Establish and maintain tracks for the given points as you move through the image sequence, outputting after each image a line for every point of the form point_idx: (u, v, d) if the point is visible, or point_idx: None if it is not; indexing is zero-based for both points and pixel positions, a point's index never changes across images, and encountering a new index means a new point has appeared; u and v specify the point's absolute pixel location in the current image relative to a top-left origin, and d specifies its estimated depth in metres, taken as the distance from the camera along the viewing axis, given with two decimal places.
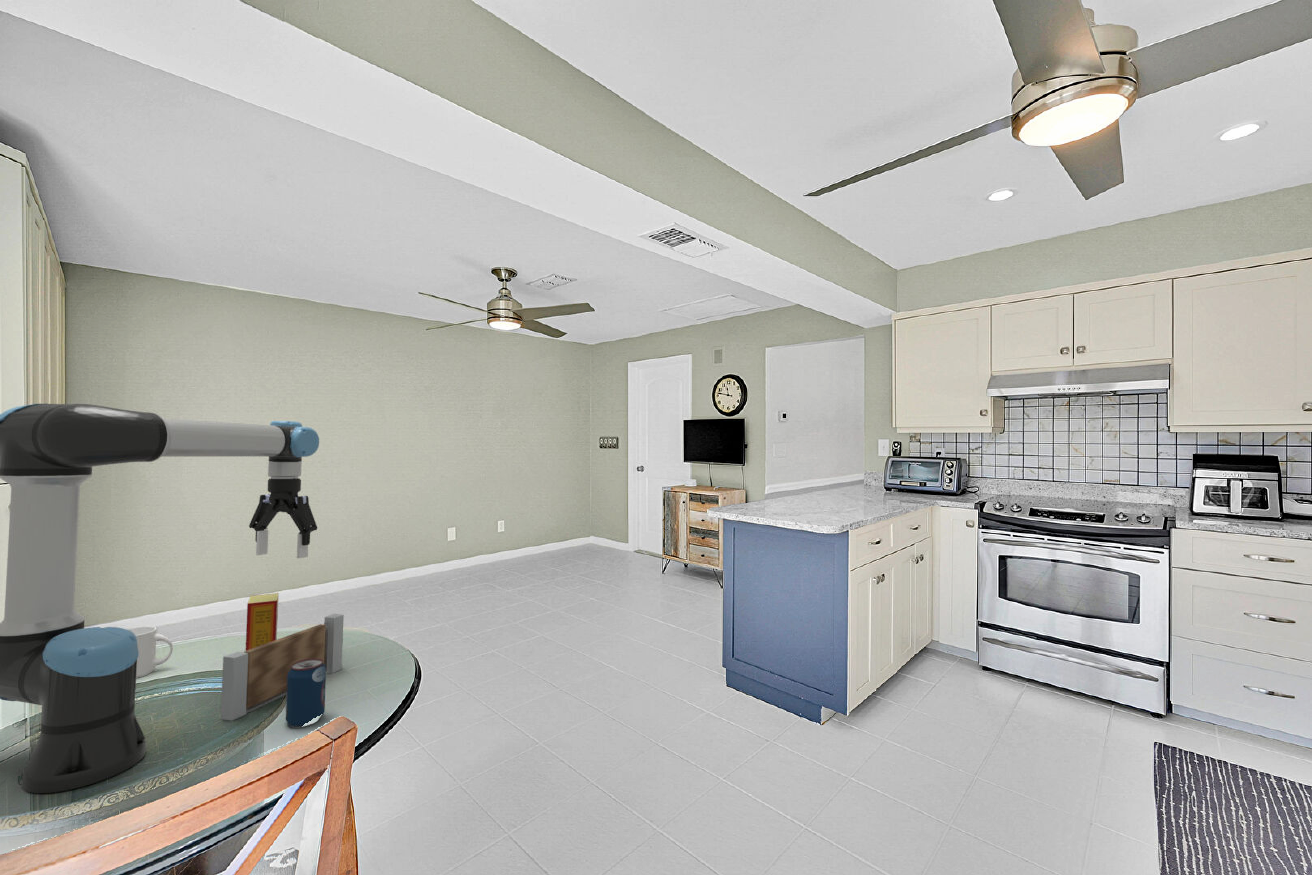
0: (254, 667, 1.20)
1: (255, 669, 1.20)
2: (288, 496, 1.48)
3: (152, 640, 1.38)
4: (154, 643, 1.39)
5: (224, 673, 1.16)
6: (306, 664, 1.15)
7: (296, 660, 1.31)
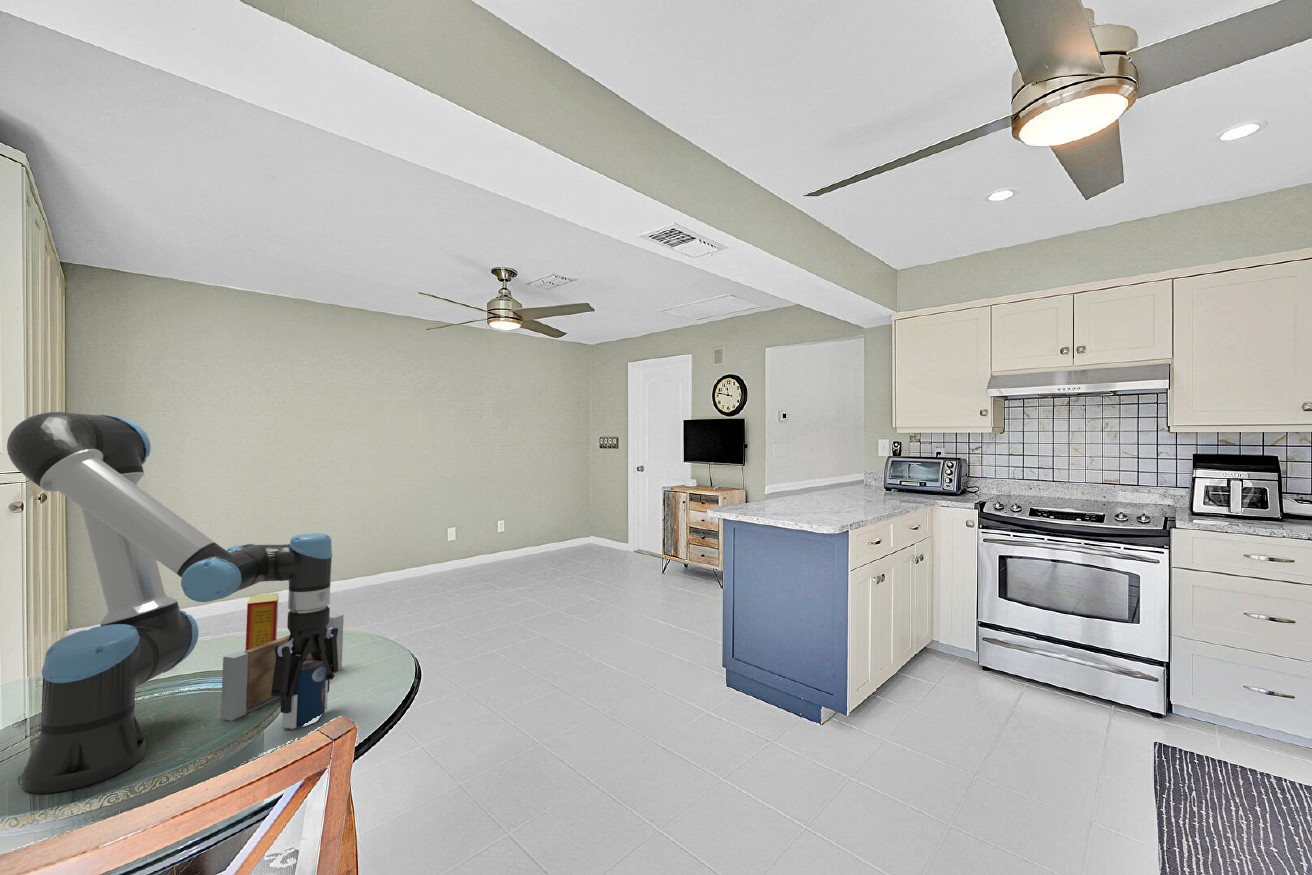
0: (254, 667, 1.20)
1: (255, 669, 1.20)
2: None
3: None
4: None
5: (224, 673, 1.16)
6: (306, 664, 1.15)
7: None
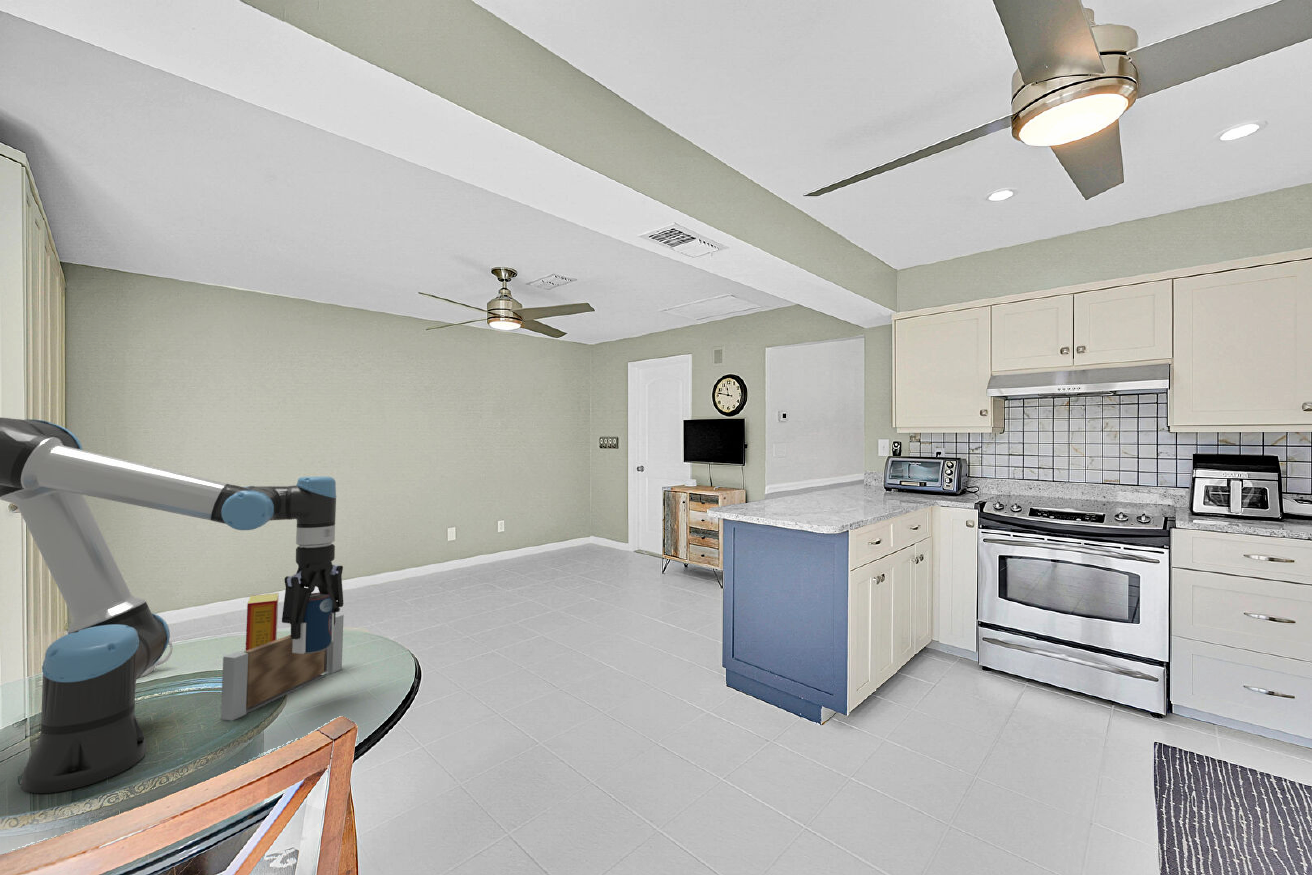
0: (254, 667, 1.20)
1: (255, 669, 1.20)
2: None
3: None
4: None
5: (224, 673, 1.16)
6: (314, 596, 1.24)
7: (296, 660, 1.31)
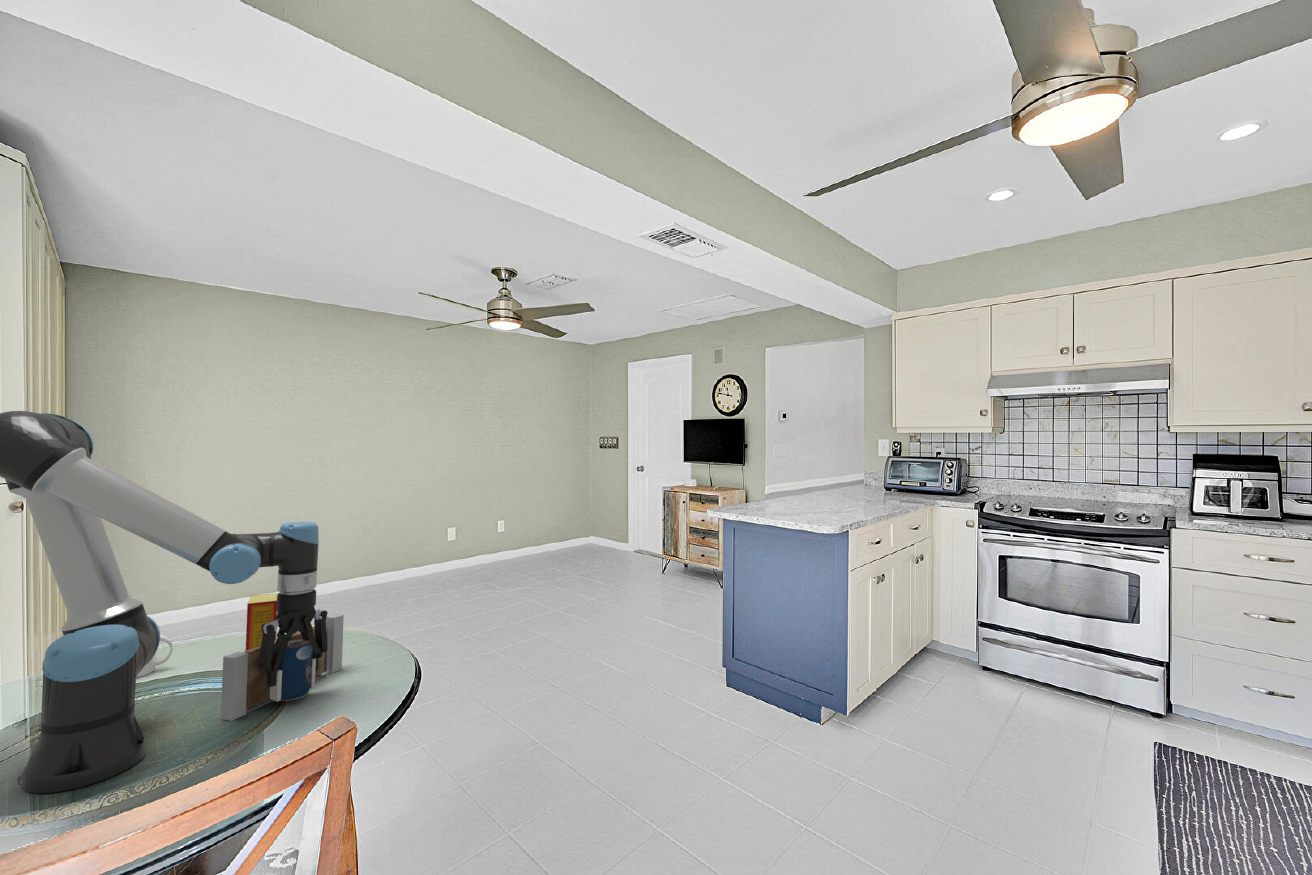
0: (254, 667, 1.20)
1: (255, 669, 1.20)
2: None
3: None
4: None
5: (224, 673, 1.16)
6: (294, 642, 1.24)
7: None
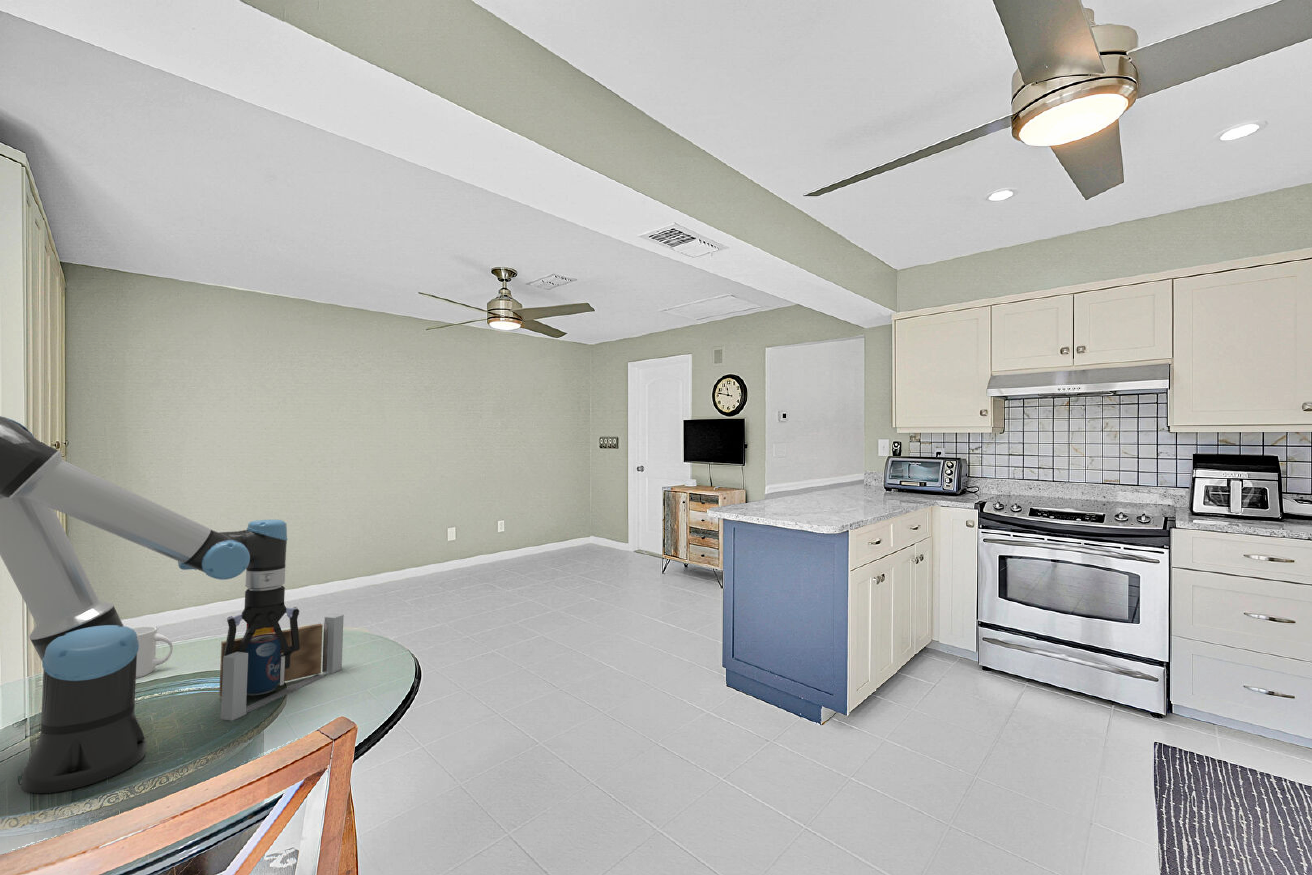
0: None
1: None
2: None
3: (152, 640, 1.38)
4: (154, 643, 1.39)
5: (224, 673, 1.16)
6: (262, 638, 1.27)
7: None
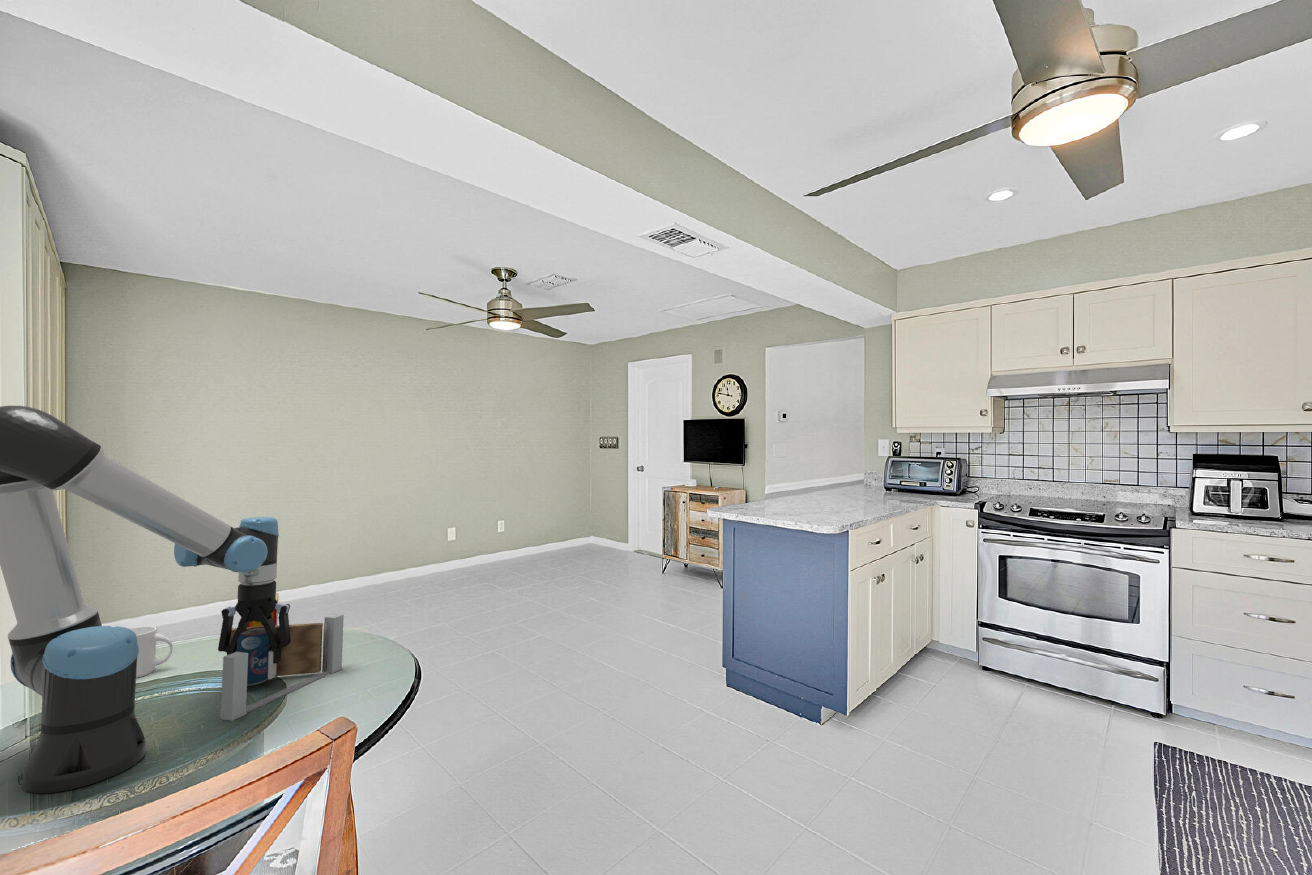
0: None
1: None
2: None
3: (152, 640, 1.38)
4: (154, 643, 1.39)
5: (224, 673, 1.16)
6: (254, 631, 1.32)
7: (282, 651, 1.36)
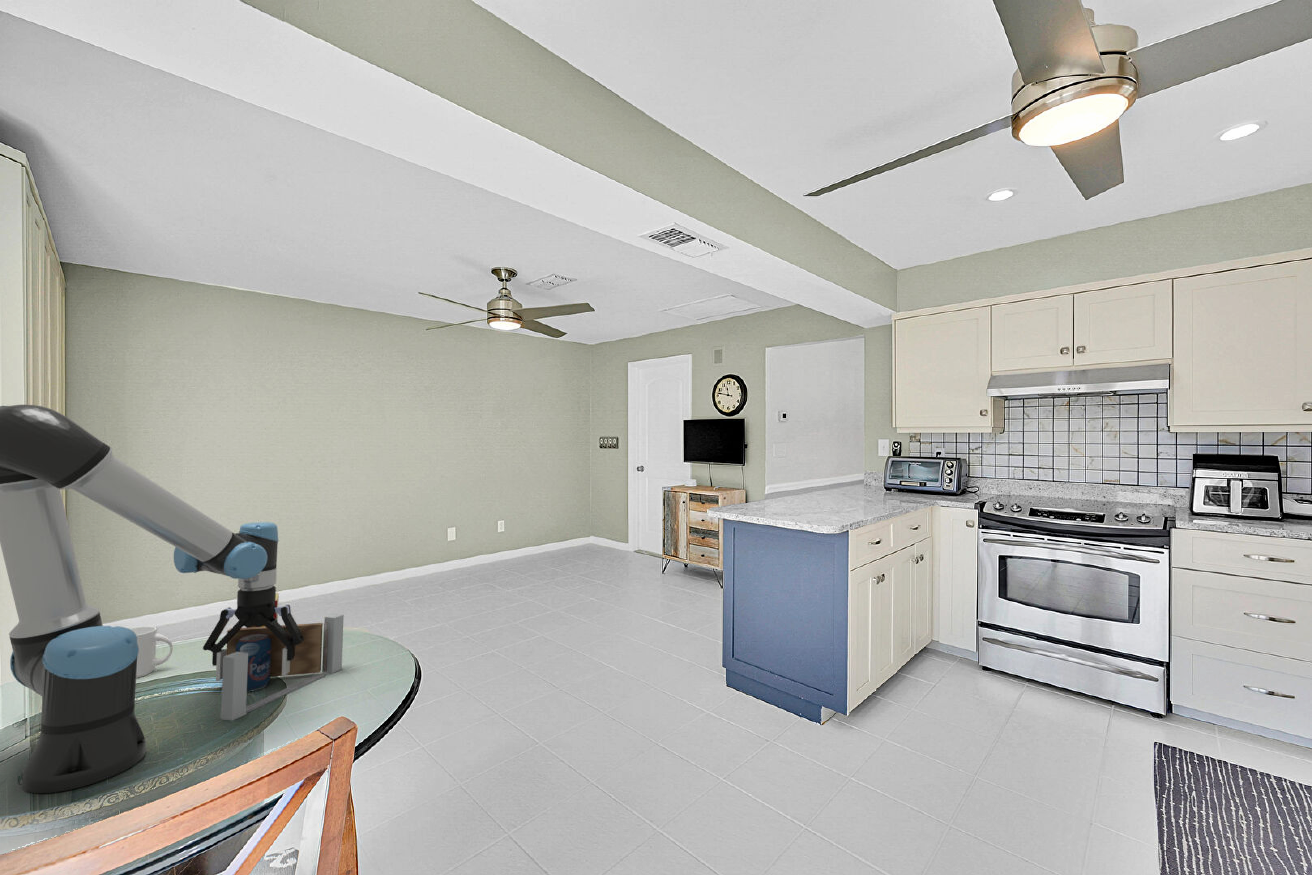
0: (232, 645, 1.33)
1: (233, 648, 1.33)
2: None
3: (152, 640, 1.38)
4: (154, 643, 1.39)
5: (224, 673, 1.16)
6: (253, 637, 1.32)
7: (282, 651, 1.36)
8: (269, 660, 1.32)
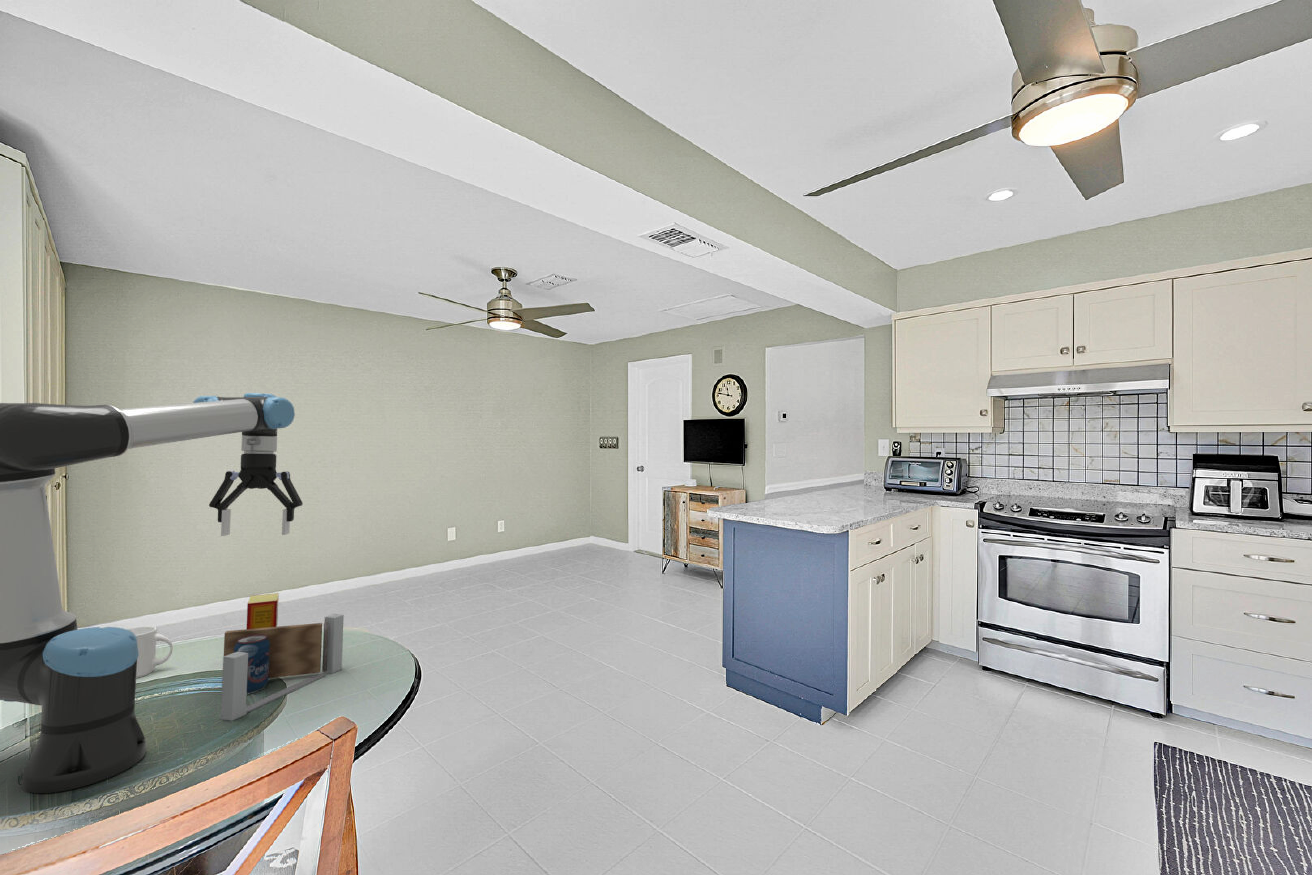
0: (229, 648, 1.32)
1: (231, 650, 1.32)
2: None
3: (152, 640, 1.38)
4: (154, 643, 1.39)
5: (224, 673, 1.16)
6: (251, 638, 1.30)
7: (282, 652, 1.35)
8: (267, 662, 1.31)
